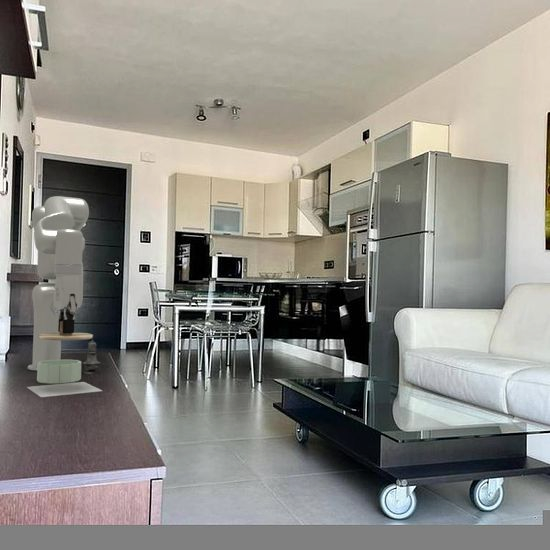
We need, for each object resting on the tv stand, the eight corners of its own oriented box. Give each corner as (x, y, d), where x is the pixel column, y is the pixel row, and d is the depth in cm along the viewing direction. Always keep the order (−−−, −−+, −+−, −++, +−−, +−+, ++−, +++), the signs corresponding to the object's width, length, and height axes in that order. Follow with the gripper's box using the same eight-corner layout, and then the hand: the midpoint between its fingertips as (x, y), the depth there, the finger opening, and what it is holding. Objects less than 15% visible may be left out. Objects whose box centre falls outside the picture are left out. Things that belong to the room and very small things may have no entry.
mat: (26, 388, 156) (26, 386, 156) (84, 383, 166) (84, 381, 166) (41, 398, 142) (41, 397, 142) (102, 392, 153) (102, 390, 153)
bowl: (33, 379, 170) (33, 361, 170) (73, 376, 178) (74, 358, 178) (43, 385, 160) (44, 366, 160) (85, 382, 168) (86, 363, 168)
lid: (32, 336, 156) (33, 320, 156) (83, 334, 165) (83, 319, 165) (46, 341, 144) (46, 324, 144) (99, 339, 154) (100, 322, 154)
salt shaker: (94, 374, 183) (95, 340, 183) (79, 373, 184) (80, 339, 184) (103, 371, 188) (104, 338, 189) (88, 371, 190) (89, 338, 190)
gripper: (47, 270, 159) (45, 330, 159) (63, 270, 146) (60, 335, 146) (72, 271, 164) (70, 329, 164) (90, 271, 151) (87, 334, 151)
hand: (66, 331), depth 155 cm, fingers closed on lid, 3 cm apart
